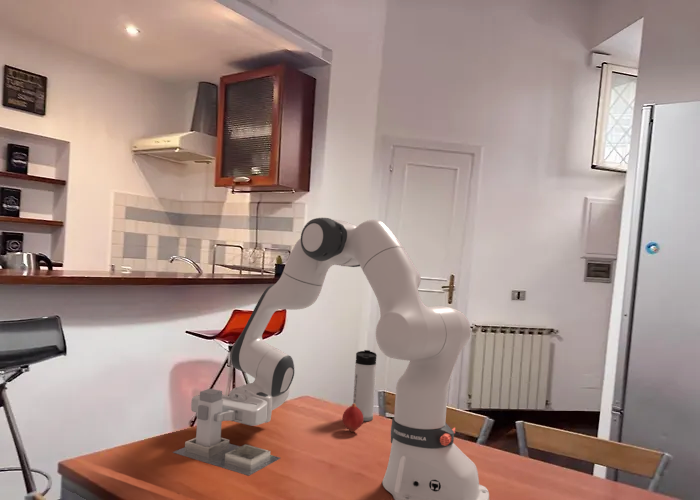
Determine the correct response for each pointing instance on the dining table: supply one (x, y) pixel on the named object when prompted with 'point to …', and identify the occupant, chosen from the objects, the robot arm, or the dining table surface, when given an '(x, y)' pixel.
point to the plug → (209, 418)
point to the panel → (229, 456)
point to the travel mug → (365, 383)
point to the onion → (352, 418)
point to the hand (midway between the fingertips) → (207, 416)
